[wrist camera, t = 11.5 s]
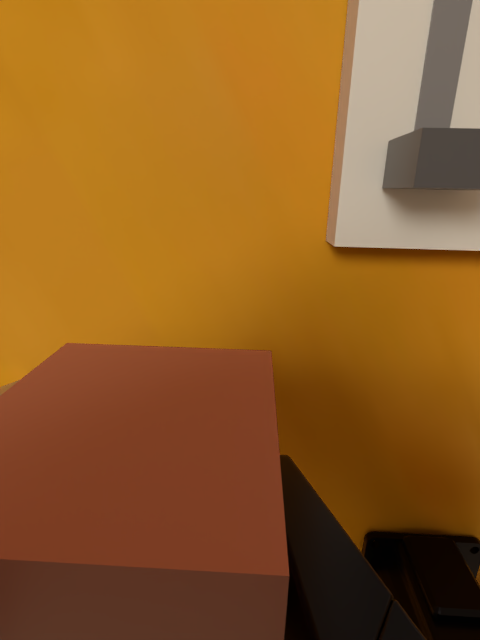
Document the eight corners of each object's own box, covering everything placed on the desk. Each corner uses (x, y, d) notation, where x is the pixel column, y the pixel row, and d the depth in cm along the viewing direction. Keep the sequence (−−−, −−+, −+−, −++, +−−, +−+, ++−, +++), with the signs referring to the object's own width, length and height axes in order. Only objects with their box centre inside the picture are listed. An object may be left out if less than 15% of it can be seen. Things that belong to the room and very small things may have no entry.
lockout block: (263, 514, 9) (268, 835, 5) (88, 505, 10) (-76, 807, 5) (271, 350, 8) (289, 575, 3) (67, 343, 8) (-193, 547, 4)
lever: (464, 190, 14) (517, 190, 11) (382, 188, 14) (413, 187, 11) (474, 142, 14) (531, 129, 11) (388, 140, 14) (422, 127, 11)
